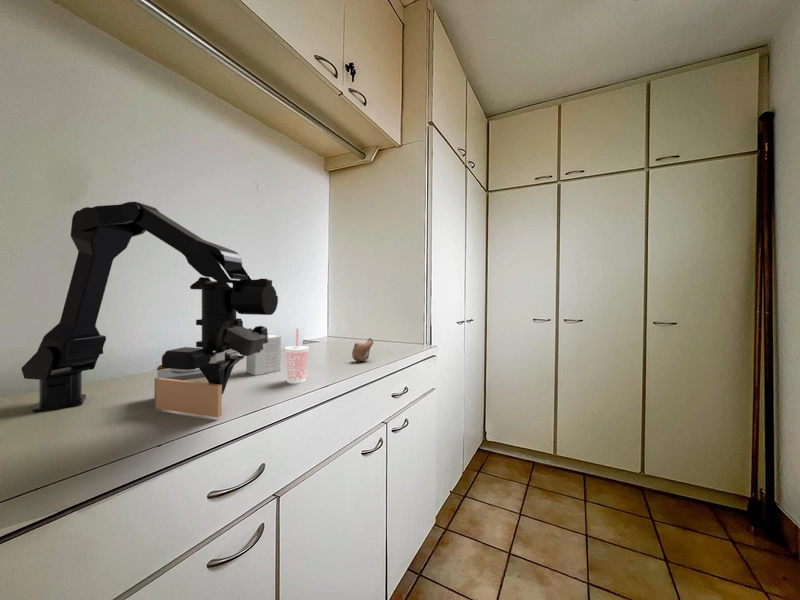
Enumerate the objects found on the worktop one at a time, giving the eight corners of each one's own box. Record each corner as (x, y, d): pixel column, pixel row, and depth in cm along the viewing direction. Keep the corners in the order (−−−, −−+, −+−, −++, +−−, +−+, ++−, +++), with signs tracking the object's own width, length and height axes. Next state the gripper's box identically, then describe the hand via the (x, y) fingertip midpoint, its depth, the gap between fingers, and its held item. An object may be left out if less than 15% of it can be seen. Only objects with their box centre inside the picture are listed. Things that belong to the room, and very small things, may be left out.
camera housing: (157, 397, 67) (157, 367, 66) (210, 389, 73) (211, 361, 73) (159, 408, 60) (159, 375, 60) (217, 398, 67) (217, 368, 67)
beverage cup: (279, 382, 80) (279, 329, 80) (294, 376, 86) (295, 327, 85) (298, 385, 78) (299, 330, 77) (313, 379, 83) (314, 328, 83)
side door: (157, 406, 60) (158, 377, 60) (221, 415, 57) (222, 384, 56) (153, 408, 59) (153, 378, 59) (217, 417, 56) (218, 386, 56)
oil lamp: (369, 358, 112) (370, 337, 112) (376, 360, 109) (377, 338, 109) (349, 362, 106) (350, 339, 105) (356, 364, 103) (357, 340, 103)
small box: (271, 367, 95) (272, 334, 95) (281, 370, 92) (281, 336, 92) (245, 372, 89) (246, 336, 89) (254, 376, 86) (255, 338, 85)
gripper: (218, 319, 47) (218, 418, 48) (285, 311, 66) (284, 383, 66) (158, 317, 49) (159, 412, 50) (239, 310, 68) (239, 379, 68)
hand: (219, 394), depth 58 cm, fingers closed
